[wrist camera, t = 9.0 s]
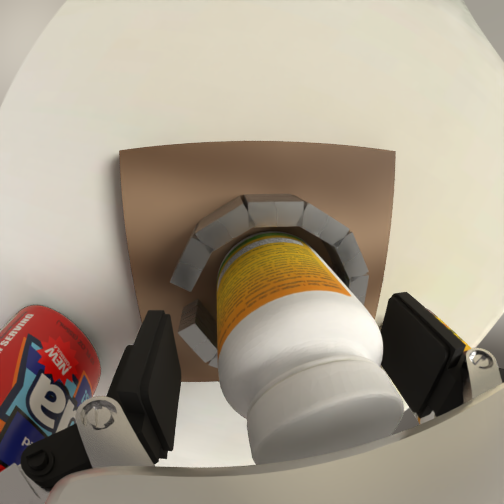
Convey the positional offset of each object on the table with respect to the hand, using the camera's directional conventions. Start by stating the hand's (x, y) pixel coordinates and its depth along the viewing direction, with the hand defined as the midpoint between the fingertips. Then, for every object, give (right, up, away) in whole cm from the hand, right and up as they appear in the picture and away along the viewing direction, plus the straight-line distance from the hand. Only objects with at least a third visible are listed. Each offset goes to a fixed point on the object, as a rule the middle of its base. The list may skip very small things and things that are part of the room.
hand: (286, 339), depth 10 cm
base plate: (-1, +2, +6) cm, 6 cm away
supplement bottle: (0, +2, +5) cm, 5 cm away
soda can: (-15, -4, +6) cm, 17 cm away
